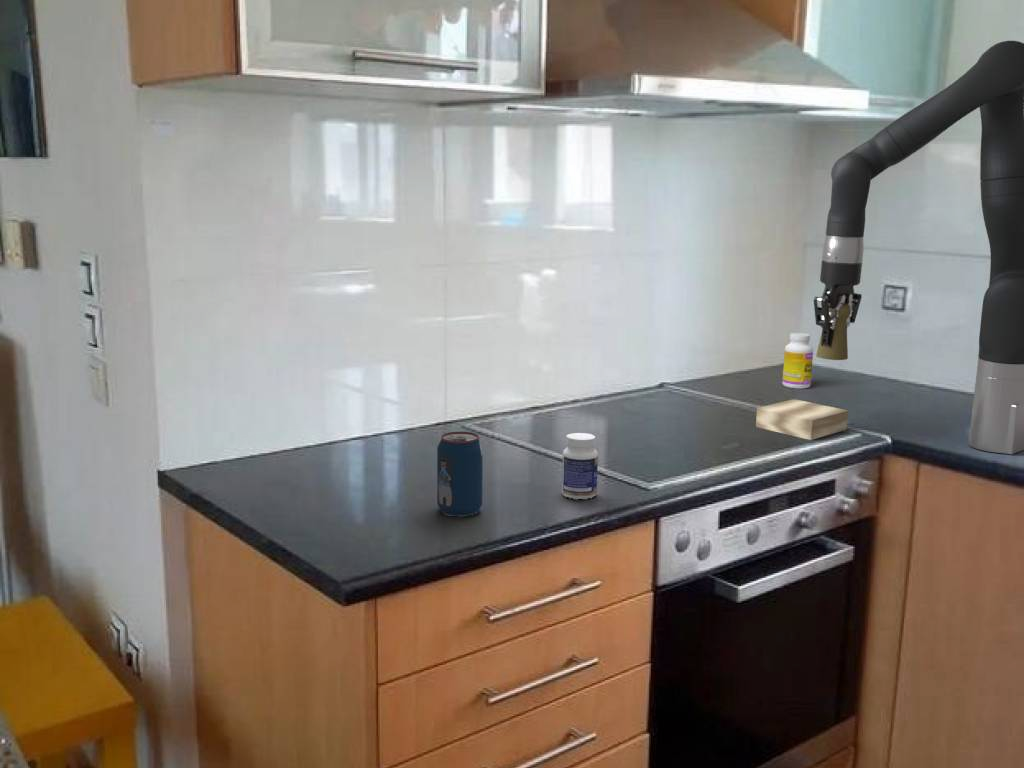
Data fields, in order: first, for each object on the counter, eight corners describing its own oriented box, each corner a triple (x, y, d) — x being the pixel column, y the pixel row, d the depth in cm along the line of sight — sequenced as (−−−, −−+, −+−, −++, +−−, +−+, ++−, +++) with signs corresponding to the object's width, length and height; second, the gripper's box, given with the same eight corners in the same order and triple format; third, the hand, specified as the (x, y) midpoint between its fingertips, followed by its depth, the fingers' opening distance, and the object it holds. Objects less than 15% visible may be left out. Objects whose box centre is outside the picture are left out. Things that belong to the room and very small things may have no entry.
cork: (854, 359, 204) (860, 304, 202) (829, 360, 202) (835, 304, 200) (834, 353, 210) (839, 299, 207) (809, 354, 208) (815, 300, 205)
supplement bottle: (805, 390, 248) (809, 337, 245) (778, 387, 251) (782, 334, 249) (814, 385, 253) (818, 333, 251) (787, 382, 257) (791, 331, 254)
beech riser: (846, 429, 212) (848, 410, 211) (810, 440, 204) (812, 420, 203) (792, 417, 222) (793, 399, 221) (755, 426, 213) (757, 407, 213)
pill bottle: (602, 499, 167) (603, 439, 165) (568, 502, 165) (570, 441, 163) (589, 488, 172) (591, 430, 170) (556, 491, 171) (558, 432, 169)
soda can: (486, 505, 163) (486, 431, 161) (477, 520, 157) (477, 443, 154) (443, 502, 164) (442, 429, 162) (432, 517, 158) (432, 440, 155)
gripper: (839, 263, 194) (830, 353, 198) (878, 259, 204) (869, 345, 207) (804, 259, 200) (796, 346, 204) (844, 255, 209) (836, 339, 213)
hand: (833, 345), depth 206 cm, fingers closed on cork, 4 cm apart
